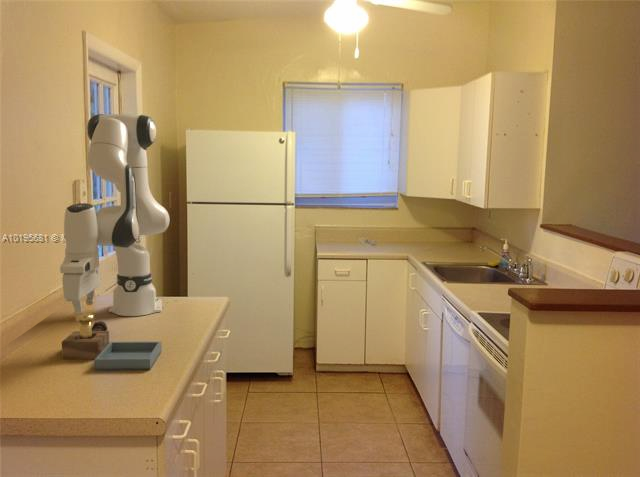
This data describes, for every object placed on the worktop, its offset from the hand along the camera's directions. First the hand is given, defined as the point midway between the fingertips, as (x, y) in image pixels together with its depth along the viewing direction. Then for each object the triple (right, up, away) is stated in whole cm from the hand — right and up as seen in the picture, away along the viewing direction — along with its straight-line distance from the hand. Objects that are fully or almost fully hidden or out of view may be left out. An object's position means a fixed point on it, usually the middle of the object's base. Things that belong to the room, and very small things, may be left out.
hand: (84, 308), depth 165 cm
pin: (0, -13, +2) cm, 13 cm away
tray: (+14, -14, -4) cm, 20 cm away
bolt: (-2, -11, +15) cm, 19 cm away
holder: (0, -13, +2) cm, 13 cm away
